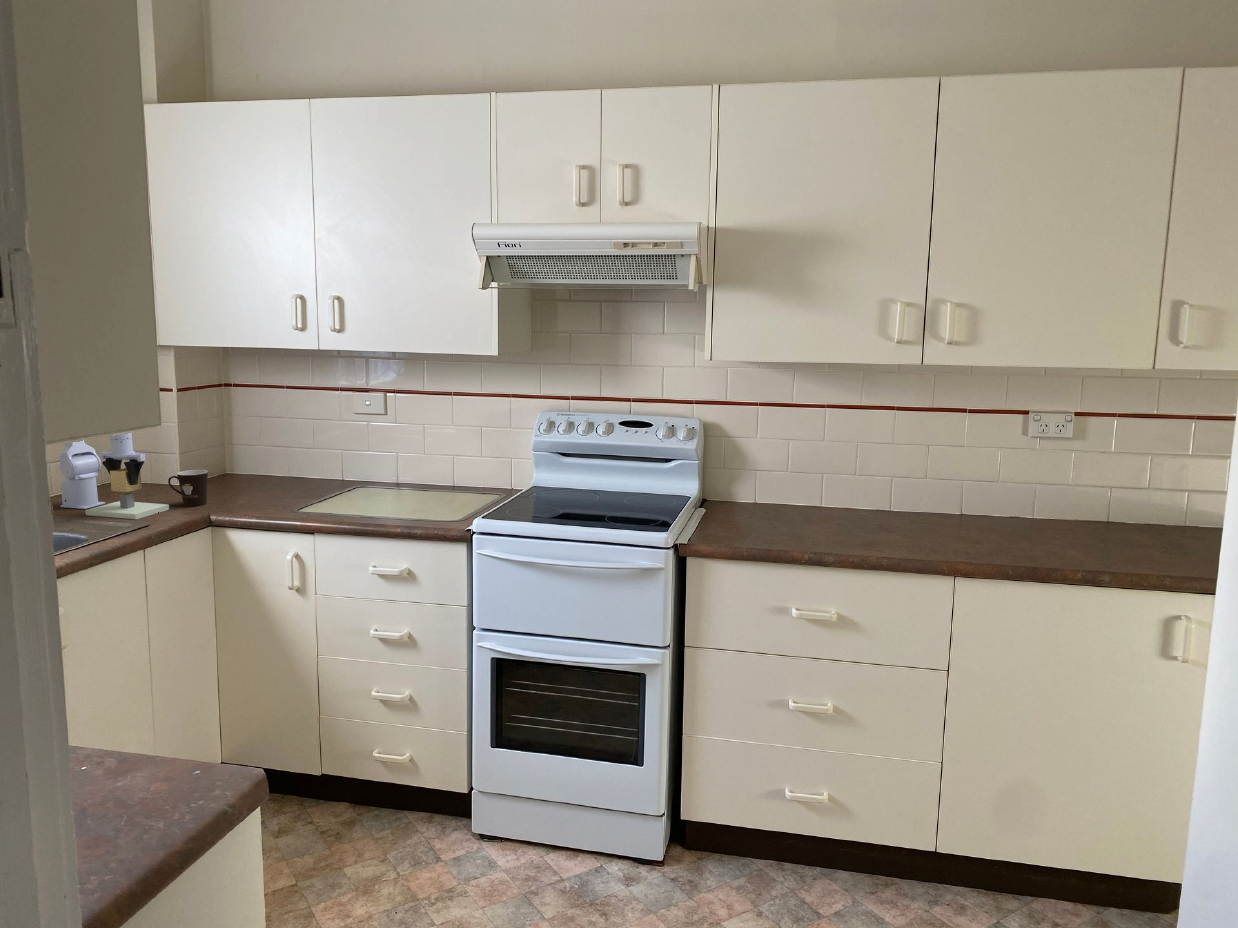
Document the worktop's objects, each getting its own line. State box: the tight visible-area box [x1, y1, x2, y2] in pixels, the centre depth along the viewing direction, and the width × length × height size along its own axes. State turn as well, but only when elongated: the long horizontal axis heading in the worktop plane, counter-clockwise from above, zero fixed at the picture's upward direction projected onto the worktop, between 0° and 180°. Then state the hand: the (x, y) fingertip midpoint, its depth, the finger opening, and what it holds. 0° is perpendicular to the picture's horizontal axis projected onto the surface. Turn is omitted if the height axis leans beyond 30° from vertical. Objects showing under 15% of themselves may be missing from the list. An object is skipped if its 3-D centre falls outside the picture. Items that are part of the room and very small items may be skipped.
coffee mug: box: [167, 469, 209, 508], centre depth 290 cm, size 12×9×10 cm
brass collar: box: [109, 467, 143, 493], centre depth 278 cm, size 6×6×6 cm
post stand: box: [84, 492, 170, 520], centre depth 279 cm, size 18×13×6 cm
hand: (125, 484), depth 278 cm, fingers closed on brass collar, 6 cm apart
